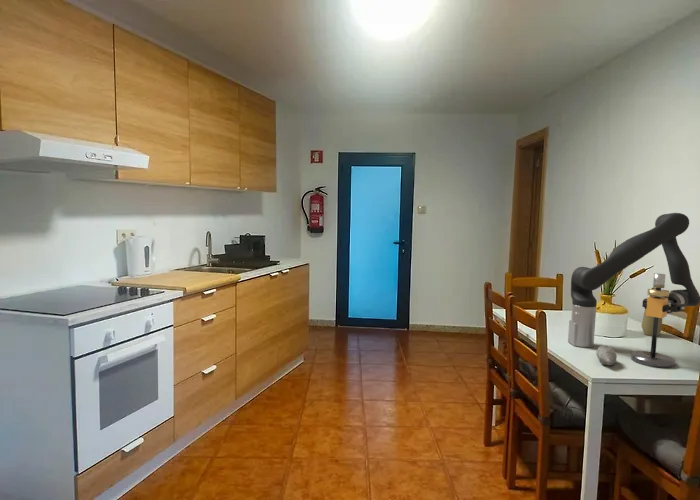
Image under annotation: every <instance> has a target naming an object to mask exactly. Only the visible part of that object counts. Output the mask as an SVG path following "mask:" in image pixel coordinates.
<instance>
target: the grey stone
mask: <svg viewBox="0 0 700 500" xmlns="http://www.w3.org/2000/svg"><path fill="white" fill-rule="evenodd" d="M595 355H596V357H597V359H598V360H599V362H600V363H601V364H602V365H605V366H612V365H614V364H615V363H616V361H617V357H618V355H617V353H616V352H615V349H614V348H613V347H611V346H608V345H606V344H605V345H599V347H598V348H597V351H596V353H595Z"/></svg>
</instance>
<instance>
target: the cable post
mask: <svg viewBox="0 0 700 500" xmlns="http://www.w3.org/2000/svg"><path fill="white" fill-rule="evenodd" d="M665 283H666V274H664V273H657V272H656V273H653V282H652V287H653V288H647V296H648V297H650V296H654V297H655V298H659V299H660V297H669V293H670V291H669V290H667V289H665V288H666V287H665V286H666V284H665ZM658 319H659V318H658V317H654V318H653V330H652V336H651V344H650V351H648V350H647V351H646V350H635V351H632V352H631V356H630V359H631V361H633V362H634V363H636V364H640V365H641V366H647V367H650V368H656V369H658V368H659V369H672V368H675V366H676V365H675V364H676V359H675V358H674V357H672V356H669V355H667V354H663V353H659V352H657V342H658V341H657V340H658V336H657V331H658Z"/></svg>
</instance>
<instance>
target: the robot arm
mask: <svg viewBox="0 0 700 500" xmlns="http://www.w3.org/2000/svg"><path fill="white" fill-rule="evenodd" d="M654 226H655V227H653V228H651V229H649V230H647V231H644V232H642V233H639V234H637V235H634V236H632V237H630V238H628V239H626V240H625V241H623V242H621V243H620V244H619V245H617V246H616V247H614V249H613V250H612V251H611V252H610V254H609V255H608V257H607V258H606V259H605V260H603V262H601V263H599V264H597V265H595V266H593V267H591V268H590V267H587V266H579V267H576V268H575V269H574V270H573V272H572V274H571V278H570V279H571V280H570V297H571V300H572V303H571V317H570V319H571V320H569V321H568V335H567V342H568V343H569V344H571V345H572V346H573V347H580V348H593V347H594V345H595V332H596V331H595V330H596V317H597V316H596V315H597V303H598V302H597V299H596V297H595V296H594V293H593V291H594V290H597V289H599V288H600V287H602V286H603V285H604V284H606V283H607V282H608V281H609V280H610V279H611V278H613V277H614V276H615V275H617V274H618V273H620V272H622V271H623V270H625V269H626V268H628V267H630V266H631V265H632V264H634V263H636V262H637V261H639V260H641V259H643V258H644V257H645V256H646V255H648V254H649V253H651V252H652V251H655V249H657V248H658V247H660V246H662V249H663V252H664V255H665V258H666V262H667V267H668V272H669V278H670V281H671V283H672V284H673V285H677V286H682V287H684V288H685V289H673V290H671V291H669V297H664V298H668V304H667V305H664V306H663V307H662V312H666V311H667V314H671V313H679V312H684V311H685V307H696V306H698V305H699V304H700V294H699V291H698V289H697V288H696V286H695V283H694V281H693V279H692V275H691V271H690V265H689V262H688V260H687V258H686V257H685V255H684V253H683V252H682V250H681V248H680V246H679V243H678V240H677V237H678V236H680V235H682V234H684V233H685V232H686V231H687V230H688V228H689V226H690V219H689V217H688V216H687V215H686V214H683V213H680V212H672V213H664V214H661V215H659V216H658V217H656V220H655V222H654ZM641 306H642V308H643V309H644V310H645V309H646V308H647V298H643V300H642V305H641Z"/></svg>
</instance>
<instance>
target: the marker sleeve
mask: <svg viewBox="0 0 700 500" xmlns="http://www.w3.org/2000/svg"><path fill="white" fill-rule="evenodd" d="M667 304H668V298H664V297H660V299H659V298H655V297H654V296H648V297H647V308H646V316H652V317H658V318H662V319H663V318H666V317H667V316H668V313H667V311H666V312H662V307H663V306H664V305H667Z"/></svg>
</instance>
